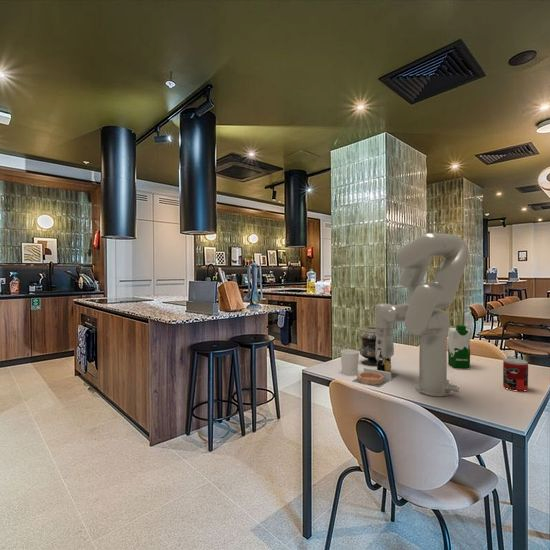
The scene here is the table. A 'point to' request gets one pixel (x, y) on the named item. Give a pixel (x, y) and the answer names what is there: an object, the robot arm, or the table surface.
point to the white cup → (349, 361)
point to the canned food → (515, 374)
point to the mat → (383, 381)
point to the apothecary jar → (369, 346)
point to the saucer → (370, 378)
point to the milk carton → (459, 347)
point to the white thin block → (386, 374)
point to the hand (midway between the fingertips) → (384, 371)
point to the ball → (387, 365)
